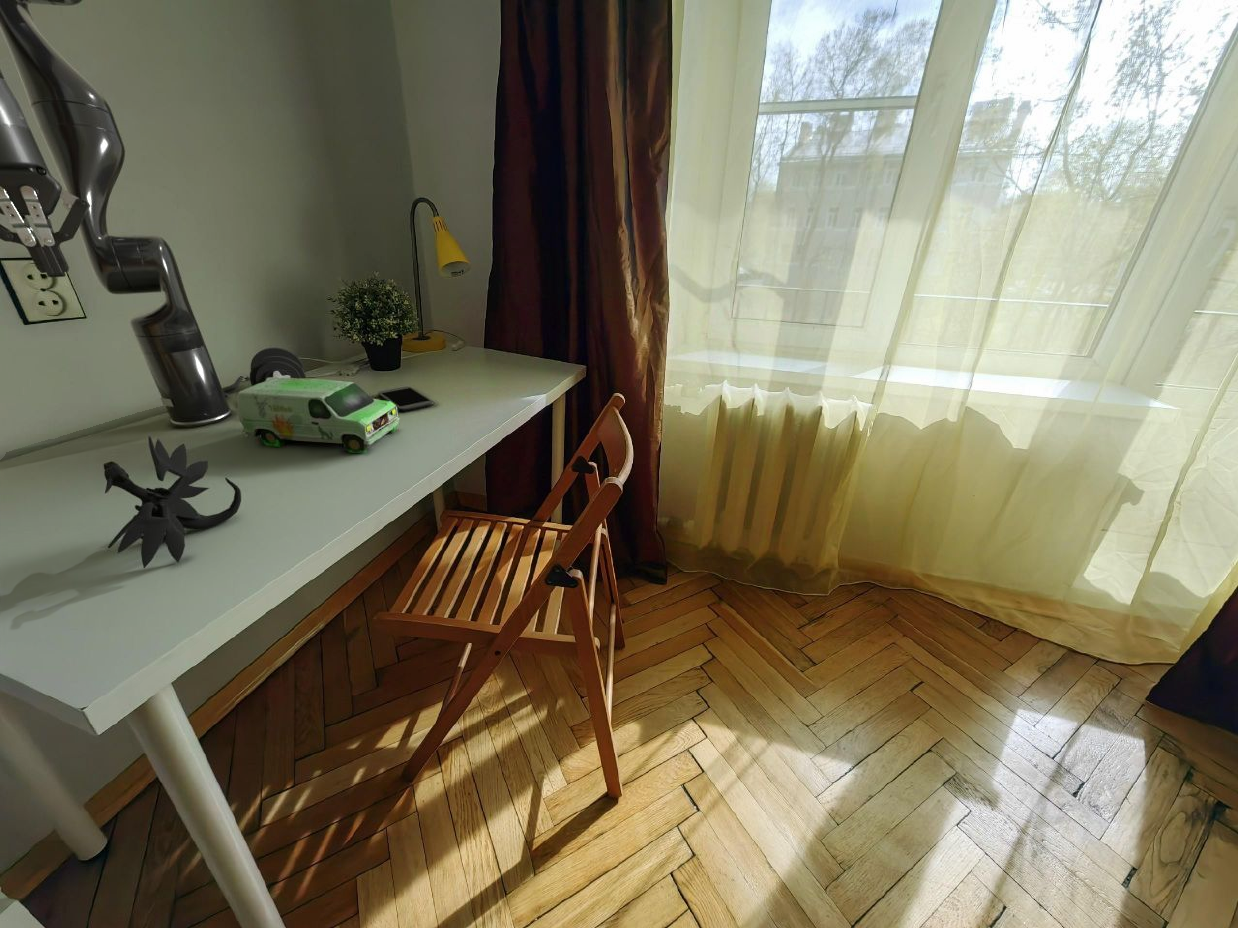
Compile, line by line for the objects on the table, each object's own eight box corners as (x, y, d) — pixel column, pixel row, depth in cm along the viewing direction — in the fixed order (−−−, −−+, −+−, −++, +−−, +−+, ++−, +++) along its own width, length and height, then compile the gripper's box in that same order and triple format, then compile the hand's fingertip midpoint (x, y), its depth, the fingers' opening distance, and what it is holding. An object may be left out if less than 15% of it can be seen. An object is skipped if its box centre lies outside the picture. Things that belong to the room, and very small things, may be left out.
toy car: (372, 455, 84) (358, 399, 79) (243, 445, 87) (223, 391, 82) (405, 431, 93) (394, 380, 88) (288, 422, 96) (272, 373, 92)
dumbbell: (314, 406, 105) (300, 360, 100) (258, 414, 100) (241, 366, 95) (307, 380, 121) (295, 339, 116) (258, 386, 116) (244, 344, 111)
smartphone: (409, 388, 115) (408, 384, 115) (436, 405, 105) (435, 401, 105) (376, 395, 111) (376, 391, 110) (401, 413, 101) (400, 409, 100)
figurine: (212, 589, 63) (215, 565, 55) (73, 577, 56) (54, 547, 48) (250, 478, 70) (257, 444, 63) (132, 456, 63) (124, 414, 56)
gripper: (65, 131, 65) (124, 271, 72) (-96, 119, 57) (-10, 277, 65) (57, 124, 59) (121, 276, 67) (-121, 110, 52) (-25, 283, 60)
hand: (57, 276), depth 66 cm, fingers closed
